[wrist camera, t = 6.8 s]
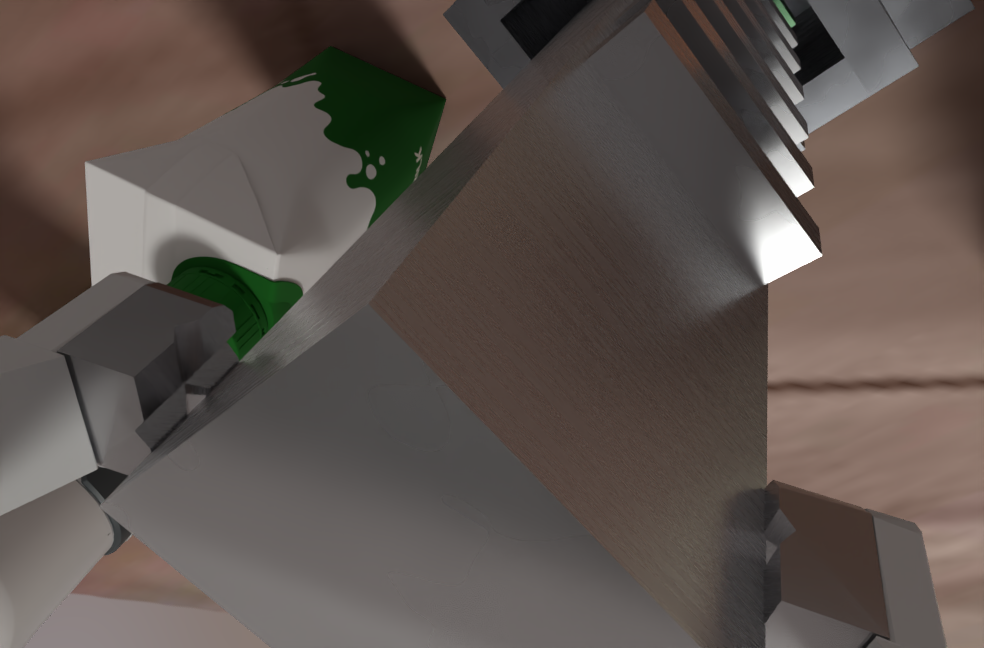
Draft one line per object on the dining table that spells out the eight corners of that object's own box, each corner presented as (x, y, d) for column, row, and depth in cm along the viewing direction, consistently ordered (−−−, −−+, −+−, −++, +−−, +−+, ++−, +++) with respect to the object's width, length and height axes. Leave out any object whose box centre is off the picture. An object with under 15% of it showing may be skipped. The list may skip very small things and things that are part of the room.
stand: (651, 206, 39) (618, 316, 30) (454, -43, 35) (352, 4, 26) (969, 3, 30) (1049, 80, 21) (752, -367, 26) (742, -456, 17)
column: (655, 116, 27) (408, 760, 9) (576, 13, 26) (98, 506, 8) (797, 13, 24) (884, 699, 5) (714, -110, 23) (468, 229, 4)
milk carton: (426, 221, 44) (237, 444, 28) (294, 159, 44) (38, 346, 29) (467, 89, 39) (261, 277, 23) (316, 20, 39) (14, 158, 23)
